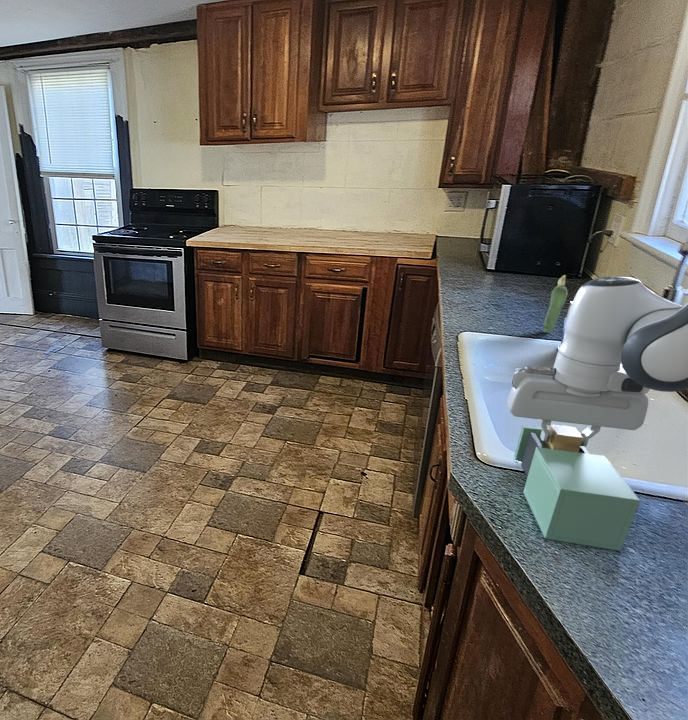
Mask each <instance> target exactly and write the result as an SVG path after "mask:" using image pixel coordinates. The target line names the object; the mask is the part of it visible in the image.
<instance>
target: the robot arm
mask: <svg viewBox="0 0 688 720" xmlns="http://www.w3.org/2000/svg"><path fill="white" fill-rule="evenodd" d="M559 345H560V344H559ZM558 347H559V346H558ZM557 350H558V349H557ZM553 364H554V365H553V367H535V366H532V365H529V366H527V365H526V366H525V367H522V368H518V369H517V370H516V371H515V372H514V374H513V377H512V382H511V385H512V387H511V389H510V390H509V391H510V392H509V394H508V397H507V400H506V407H507V409H508V411H509V413H510V414H511V415H512V416H513V417H516V418H524V419H535V420H537V421H538V423H539V427H541V428H542V432H541V435H540V437H541V440H542V441H546V442H552V441H553V437H554V433H553V432H552V430H549V429H547V428H548V426H550V424H552V422H559V423H566V424H567V423H568V424H574V425H575V424H577V425H584V426H587V427H586V428H585V429H583V430H582V432H579V433H580V435H581V436H582V437H583V440H582V443H581V446H584V447H587V446H588V443H589V440H590V439H592V438H593V437H594V436H595V435H597V434H598V433H599V432H601V431H600V430H601V427H602V428H608V429H609V428H611V429H618V430H626V431H636V430H638V429H639V428H641V427H642V426H643V424H644V423H645V420H646V416H647V413H648V408H649V398H648V396H647V395H646V394H648V393H649V391H651V390H653V391H657V392H664V393H673V392H674V393H675V392H681V391H682V392H683V391H686V390H688V302H687V303H686V304H685V305H682V304H678V303H676V302H674V301H671V300H668V299H667V298H664V297H663V296H660V295H659V294H657V293H655V292H654V291H652V290H651V289H649V288H648V287H646V285H645V284H644V283H643V282H642V281H641V280H640V279H637V278H634V277H627V276H603V277H599V278H598V277H597V278H593V279H591V280H589V281H586V282H585V283H583V284H582V285H581V286H580V287H579V288H578V290H577V292H576V294H575V296H574V297H573V303H572V305H571V308H570V311H569V314H568V317H567V321H566V325H565V338H564V341H563V342H562V344H561V345H560V347H559V350H558V351H557V353H556V357H555V361H554V363H553Z"/></svg>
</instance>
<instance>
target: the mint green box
mask: <svg viewBox="0 0 688 720" xmlns="http://www.w3.org/2000/svg"><path fill="white" fill-rule="evenodd" d="M522 491H523V492H522V494H523V495H524V497H525V499H526V502H527V503H528V506H529V508H530V510H531V512H532V514H533V516H534V518H535V520H536V522H537V525H538V527H539V529H540V531H541V533H542V535H543V537H544V539H546V540H552V541H557V542H562V543H563V542H564V543H570V544H576V545H582V546H588V547H592V548H593V547H594V548H600V549H605V550H611V551H619V552H621V551H622V548H623V546H624V544H625V541H626V538H627V536H628V533H629V531H630V529H631V525H632V523H633V520H634V518H635V516H636V513H637V512H638V511H637V510H638V508H639V505H640V503H641V499H640V498H639V497H638V495H637V494H636V493H635V492H634V491H633V489H632V488H631V486H630V485H629V484H628V482H626V481H625V479H624V478H623V477H622V476H621V474H620V473H619V472H618V470H617V468H615V466H614V465H613V464H612V463H611V462H610V460H609V459H608V458H607V456H605V455H600V454H593V453H589V454H586V453H578V452H570V451H563V450H555V449H547V448H540V447H536V449H535V453H534V456H533V460H532V463H531V467H530V470H529V474H528V477H527V476H526V481H525V485H524V487H523V490H522Z"/></svg>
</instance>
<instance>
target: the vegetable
mask: <svg viewBox="0 0 688 720" xmlns="http://www.w3.org/2000/svg"><path fill="white" fill-rule="evenodd" d="M566 278H567V274H564V275H562V276H561V277H560V278H559V279H558V281H557V285H556V286H555V287H554V288H553V289H552V291H551V294H550V300H549V307H548V310H547V312H546V315H545V318H544V322H543V333H549V334H550V333H551V332H552V331H547V330H554V329H555V326H556V324H557V322H558V319H559V316H560V314H561V311H562V309H563V306H564V305H565V302H566V299H567V296H568V289H567V287H566V286H565V285H566Z"/></svg>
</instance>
